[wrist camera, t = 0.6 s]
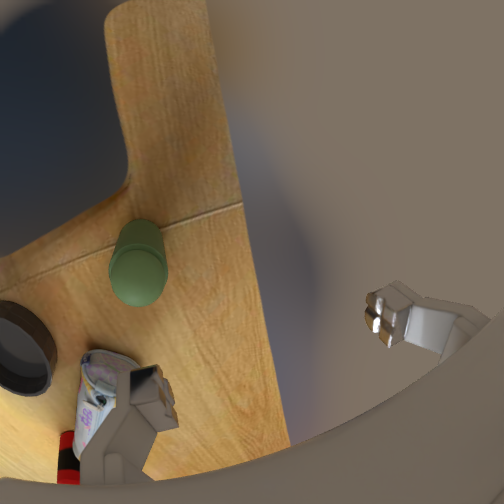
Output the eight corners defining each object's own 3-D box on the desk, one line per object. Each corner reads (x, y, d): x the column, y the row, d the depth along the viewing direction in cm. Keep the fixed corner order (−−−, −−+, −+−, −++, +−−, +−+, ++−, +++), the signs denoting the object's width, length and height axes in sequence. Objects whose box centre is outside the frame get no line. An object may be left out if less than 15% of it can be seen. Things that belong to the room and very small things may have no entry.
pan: (-32, 322, 23) (-43, 337, 20) (15, 284, 25) (3, 298, 22) (22, 387, 29) (16, 405, 25) (75, 361, 31) (71, 381, 27)
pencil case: (86, 335, 31) (75, 386, 22) (148, 353, 34) (153, 406, 26) (73, 425, 34) (70, 469, 25) (120, 436, 38) (124, 480, 29)
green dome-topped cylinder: (110, 232, 28) (90, 278, 17) (149, 210, 29) (149, 244, 18) (132, 270, 30) (127, 331, 20) (170, 249, 31) (183, 302, 20)
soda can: (53, 430, 33) (48, 484, 22) (89, 430, 35) (88, 487, 24) (71, 451, 35) (70, 501, 25) (104, 451, 38) (108, 503, 27)
